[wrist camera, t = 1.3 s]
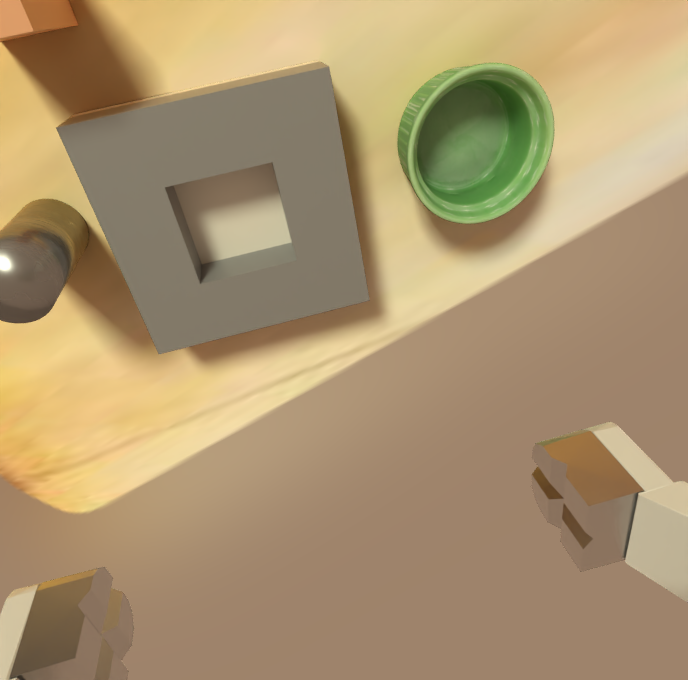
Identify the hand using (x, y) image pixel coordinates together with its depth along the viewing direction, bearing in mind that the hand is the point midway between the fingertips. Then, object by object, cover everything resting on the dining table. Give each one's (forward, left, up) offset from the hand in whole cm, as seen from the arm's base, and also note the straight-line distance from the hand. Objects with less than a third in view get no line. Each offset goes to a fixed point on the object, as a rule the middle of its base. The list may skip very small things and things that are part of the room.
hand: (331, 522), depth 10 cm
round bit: (+13, +1, -28) cm, 31 cm away
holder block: (+2, +2, -28) cm, 28 cm away
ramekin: (-13, +1, -28) cm, 31 cm away
